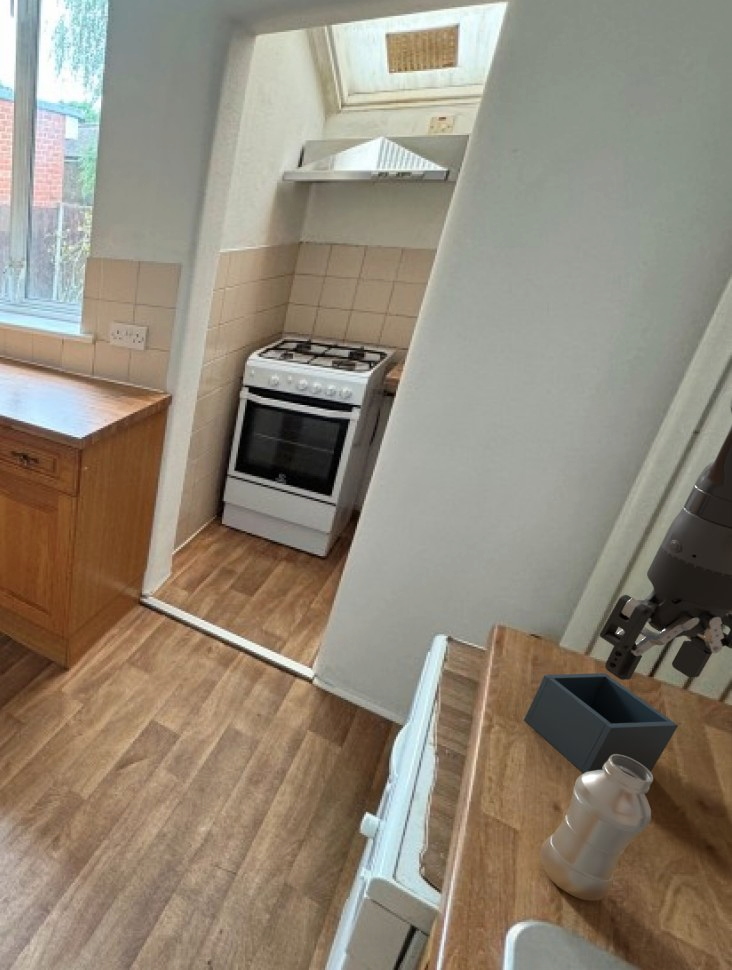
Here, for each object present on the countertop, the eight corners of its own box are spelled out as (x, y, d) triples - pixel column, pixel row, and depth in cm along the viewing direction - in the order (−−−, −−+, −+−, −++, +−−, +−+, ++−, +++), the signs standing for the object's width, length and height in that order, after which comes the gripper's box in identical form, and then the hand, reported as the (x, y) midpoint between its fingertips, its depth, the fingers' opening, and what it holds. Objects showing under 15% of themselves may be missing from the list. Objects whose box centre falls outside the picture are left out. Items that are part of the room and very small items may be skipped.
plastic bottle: (559, 904, 74) (625, 790, 67) (521, 850, 80) (578, 740, 73) (617, 913, 73) (690, 798, 66) (574, 857, 80) (637, 747, 72)
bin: (650, 773, 92) (678, 725, 88) (585, 776, 91) (611, 728, 88) (582, 717, 102) (605, 672, 98) (523, 720, 101) (544, 674, 97)
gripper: (692, 577, 60) (627, 700, 66) (821, 573, 61) (745, 695, 67) (615, 538, 67) (562, 653, 73) (731, 535, 68) (670, 649, 74)
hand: (650, 673), depth 70 cm, fingers open, 8 cm apart
